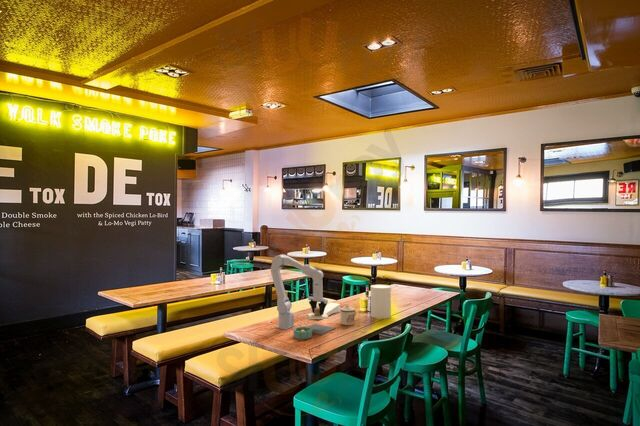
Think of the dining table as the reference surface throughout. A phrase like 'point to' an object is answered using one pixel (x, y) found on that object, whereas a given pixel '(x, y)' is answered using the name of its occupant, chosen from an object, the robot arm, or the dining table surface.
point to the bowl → (302, 332)
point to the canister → (380, 301)
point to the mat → (320, 329)
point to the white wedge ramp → (332, 308)
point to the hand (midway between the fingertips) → (317, 313)
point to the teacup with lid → (347, 315)
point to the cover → (317, 314)
